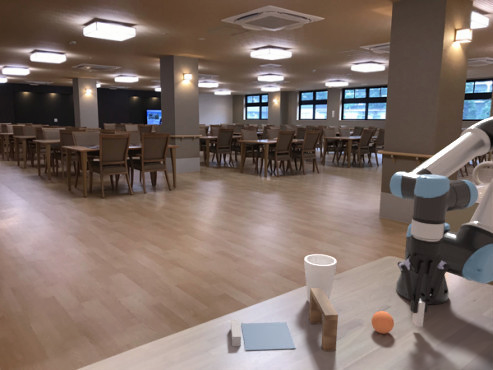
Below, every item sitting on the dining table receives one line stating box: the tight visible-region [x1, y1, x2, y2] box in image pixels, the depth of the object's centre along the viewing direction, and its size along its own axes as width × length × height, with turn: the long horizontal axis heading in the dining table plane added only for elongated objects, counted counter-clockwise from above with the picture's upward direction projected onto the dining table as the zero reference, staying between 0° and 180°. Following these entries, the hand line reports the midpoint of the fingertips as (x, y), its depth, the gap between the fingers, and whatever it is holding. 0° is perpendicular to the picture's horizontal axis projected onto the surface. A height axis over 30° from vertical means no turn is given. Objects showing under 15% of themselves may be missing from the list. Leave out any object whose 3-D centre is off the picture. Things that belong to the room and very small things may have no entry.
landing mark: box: [241, 321, 296, 352], centre depth 102 cm, size 12×12×1 cm
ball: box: [371, 310, 395, 335], centre depth 104 cm, size 6×6×6 cm
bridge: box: [308, 288, 339, 352], centre depth 103 cm, size 3×14×9 cm, turn 5°
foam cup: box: [303, 253, 338, 304], centre depth 120 cm, size 10×9×13 cm
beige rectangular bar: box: [230, 319, 242, 347], centre depth 101 cm, size 2×8×2 cm, turn 5°
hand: (417, 323), depth 105 cm, fingers closed
